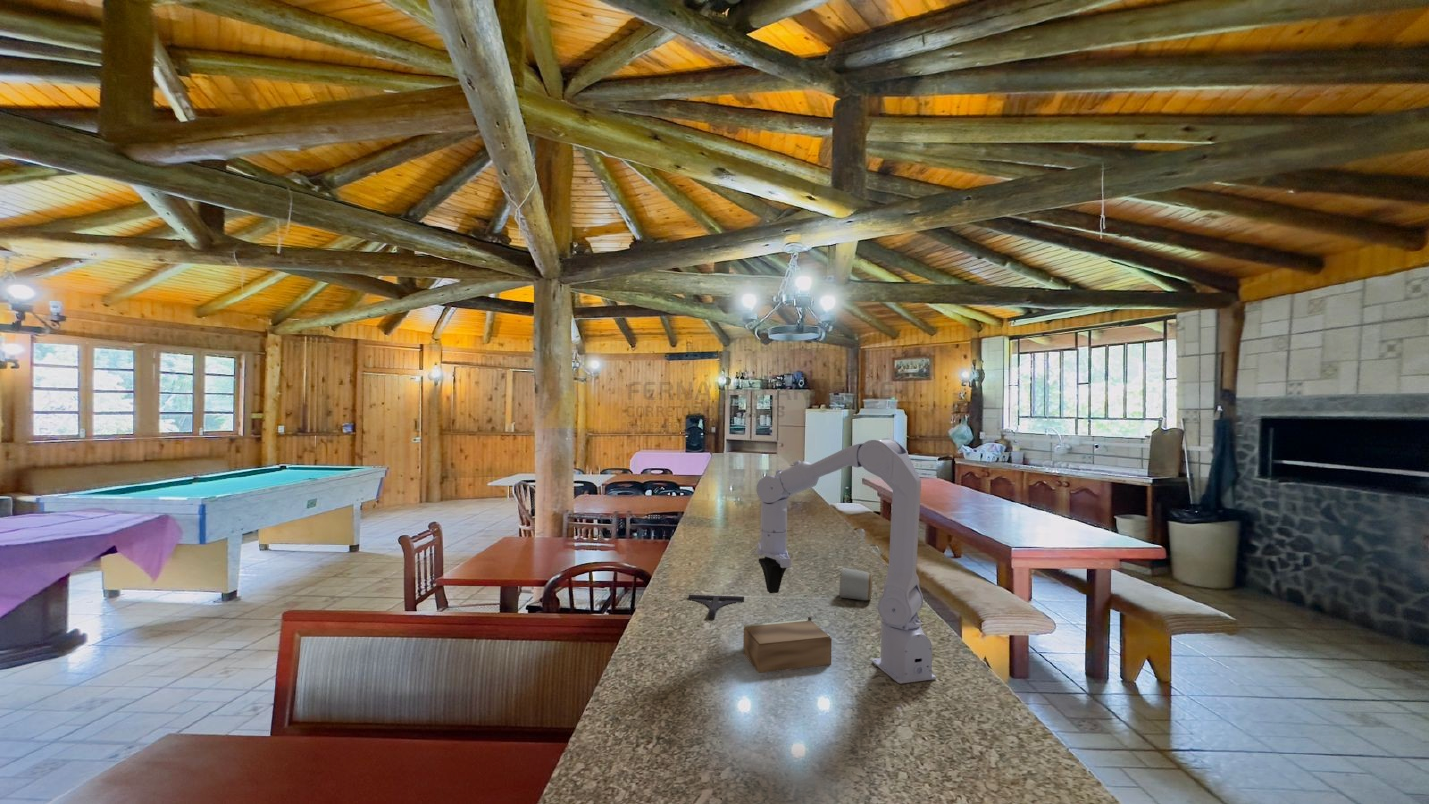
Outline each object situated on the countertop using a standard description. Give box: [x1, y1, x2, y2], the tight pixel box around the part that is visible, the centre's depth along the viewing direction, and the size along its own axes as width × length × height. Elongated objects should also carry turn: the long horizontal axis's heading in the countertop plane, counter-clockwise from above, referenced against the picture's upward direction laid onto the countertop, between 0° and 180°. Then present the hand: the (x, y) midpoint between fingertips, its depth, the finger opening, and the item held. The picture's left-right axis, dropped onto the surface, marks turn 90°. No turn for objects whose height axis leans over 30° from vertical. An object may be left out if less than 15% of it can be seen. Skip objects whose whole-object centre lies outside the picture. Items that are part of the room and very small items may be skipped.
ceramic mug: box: [839, 567, 874, 601], centre depth 149 cm, size 11×8×8 cm
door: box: [743, 618, 808, 629], centre depth 116 cm, size 14×2×5 cm, turn 105°
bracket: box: [688, 594, 745, 620], centre depth 138 cm, size 14×15×3 cm
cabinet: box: [742, 616, 833, 674], centre depth 111 cm, size 10×15×6 cm, turn 106°
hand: (773, 592), depth 122 cm, fingers closed
